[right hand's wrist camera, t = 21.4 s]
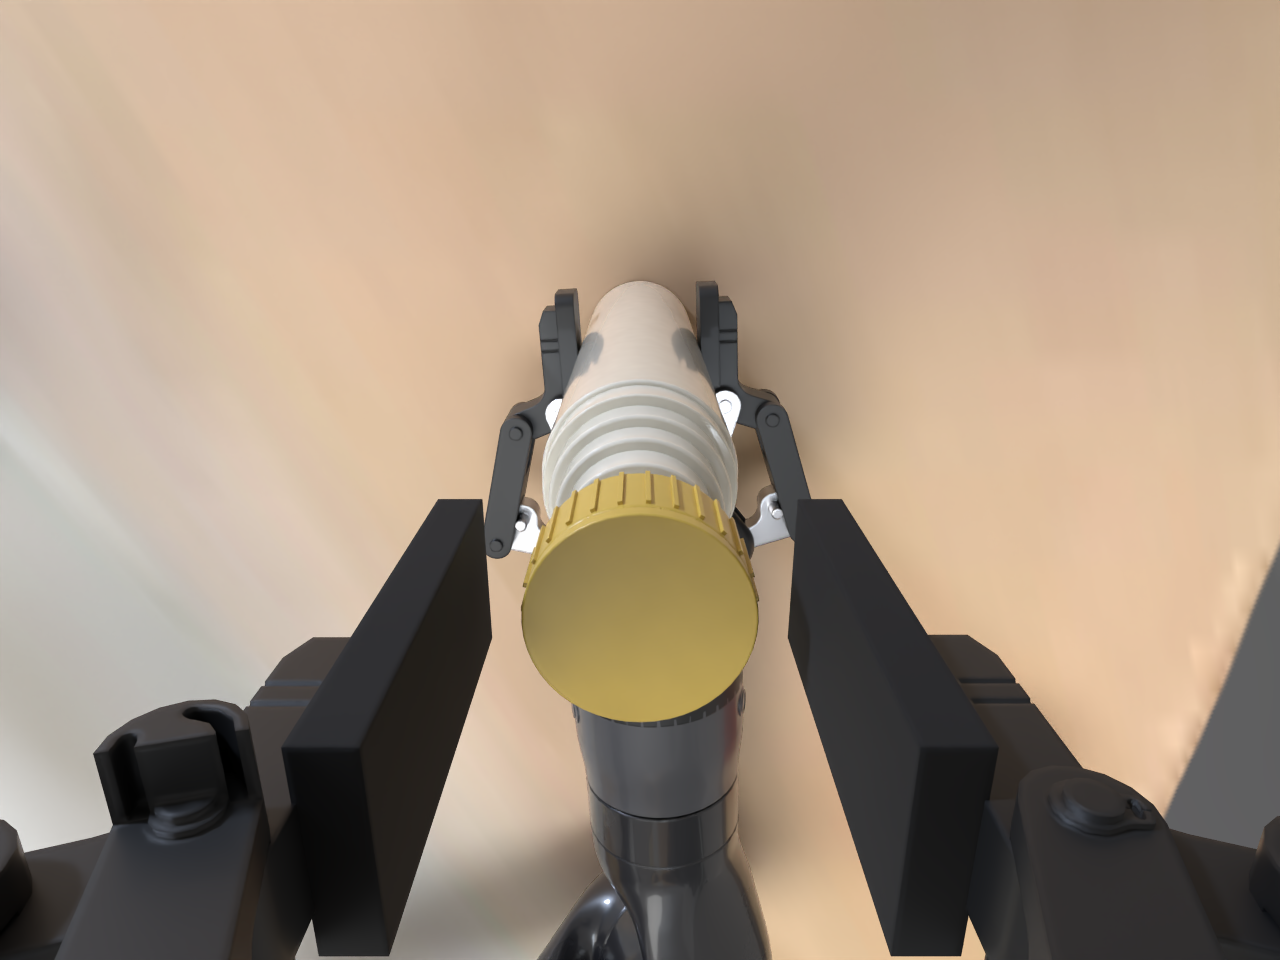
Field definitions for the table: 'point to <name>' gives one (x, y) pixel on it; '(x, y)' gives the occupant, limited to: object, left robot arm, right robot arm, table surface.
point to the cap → (640, 599)
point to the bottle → (640, 403)
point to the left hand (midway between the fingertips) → (637, 289)
